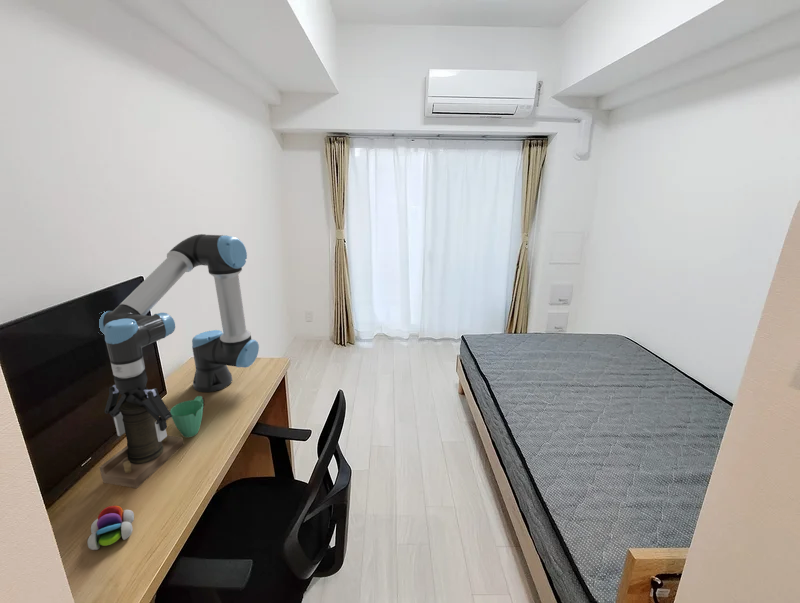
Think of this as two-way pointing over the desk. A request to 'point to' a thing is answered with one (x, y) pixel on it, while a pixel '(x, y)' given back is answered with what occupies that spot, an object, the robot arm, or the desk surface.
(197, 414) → the mug
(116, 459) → the ledge
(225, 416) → the desk surface
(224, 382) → the robot arm
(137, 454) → the container
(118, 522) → the rainbow striped lobed toy
